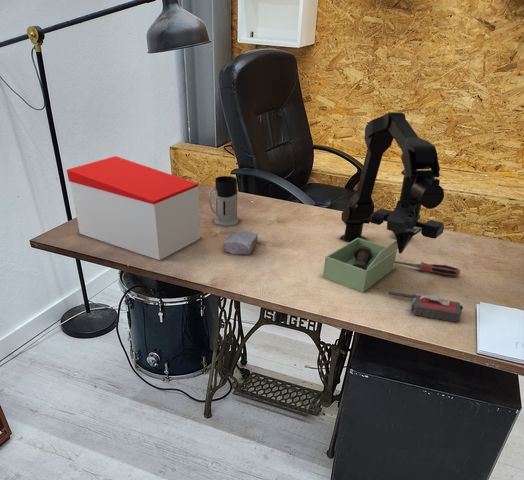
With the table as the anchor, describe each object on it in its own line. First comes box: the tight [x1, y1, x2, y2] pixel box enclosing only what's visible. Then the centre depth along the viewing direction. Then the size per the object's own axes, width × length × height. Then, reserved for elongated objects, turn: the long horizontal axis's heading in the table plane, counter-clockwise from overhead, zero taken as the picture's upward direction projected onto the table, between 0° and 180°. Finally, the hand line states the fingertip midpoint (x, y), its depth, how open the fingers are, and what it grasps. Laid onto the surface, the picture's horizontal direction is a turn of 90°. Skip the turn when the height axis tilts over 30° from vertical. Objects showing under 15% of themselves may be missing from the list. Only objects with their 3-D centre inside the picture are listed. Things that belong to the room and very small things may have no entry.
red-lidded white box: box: [66, 155, 201, 261], centre depth 153 cm, size 21×35×21 cm, turn 59°
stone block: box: [222, 230, 259, 256], centre depth 154 cm, size 12×5×10 cm
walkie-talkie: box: [386, 290, 464, 323], centre depth 126 cm, size 9×4×20 cm
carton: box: [322, 238, 398, 293], centre depth 141 cm, size 19×14×6 cm
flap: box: [367, 240, 398, 269], centre depth 133 cm, size 19×7×1 cm
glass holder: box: [208, 175, 239, 227], centre depth 167 cm, size 9×14×15 cm, turn 148°
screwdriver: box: [394, 260, 461, 277], centre depth 146 cm, size 25×3×3 cm, turn 73°
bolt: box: [352, 246, 373, 270], centre depth 142 cm, size 6×5×15 cm
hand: (400, 252), depth 132 cm, fingers closed
